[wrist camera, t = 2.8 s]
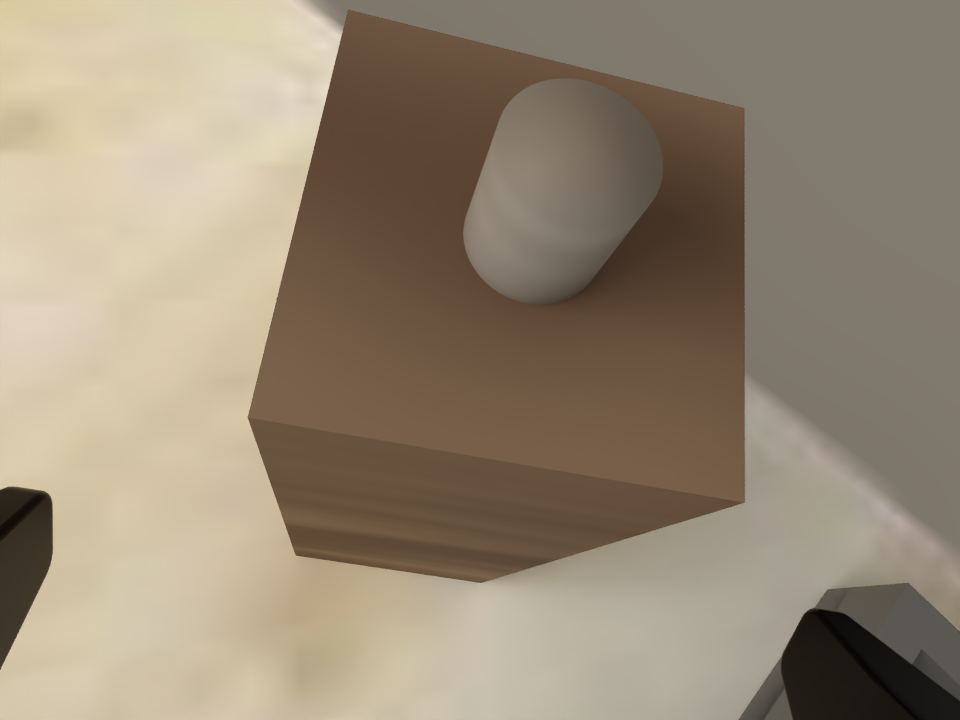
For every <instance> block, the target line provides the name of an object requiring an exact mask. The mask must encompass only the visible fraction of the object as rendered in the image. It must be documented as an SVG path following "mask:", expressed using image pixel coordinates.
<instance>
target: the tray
mask: <svg viewBox="0 0 960 720" xmlns="http://www.w3.org/2000/svg"><path fill="white" fill-rule="evenodd" d="M816 608H820V609H827V610H833V611H839V612H842V613H844V614H846V615H848V616H849V617H850V618H852V619H853V620H854V621H856V622H857V623H858V624H860V625H861V626H862V627H864V628H865V629H866V630H868V631H869V632H870V633H871V634H873V635H874V636H875V637H877V638H878V639H879V640H881V641H882V642H883V643H885V644H886V645H887V646H889V647H890V648H891V649H892V650H894V651H895V652H896V653H898V654H899V655H900V656H902V657H903V658H904V659H906V660H907V661H908V662H909V663H911V664H912V665H913V666H915V667H916V668H917V669H919V670H920V671H921V672H923V673H924V674H925V675H927V676H928V677H929V678H930V679H932V680H933V681H934V682H936V683H937V684H938V685H940V686H941V687H942V688H944V689H945V690H946V691H947V692H949V693H950V694H951V695H953V696H954V697H955V698H957V699H958V700H959V701H960V632H959V631H958V630H957V629H956V628H955V627H954V626H953V625H952V624H951V623H950V622H949V621H948V620H947V619H946V618H945V617H944V616H942V615H941V614H940V613H939V612H938V611H937V610H936V609H935V608H934V607H933V606H932V605H931V604H930V603H929V602H928V601H927V600H926V599H925V598H924V597H922V596H921V595H920V594H919V593H918V592H917V591H916V590H915V589H914V588H913V587H912V586H911V585H910V584H909V583H903V584H890V585H878V586H866V587H854V588H841V589H829V590H827V591H826V593H825V594H824V596H823V597H822V599H821V600H820V602H819V603H818V605H817V606H816ZM781 659H782V657H781ZM781 659H780V660H779V662H778V663H777V665H776V666H775V668H774V669H773V671H772V672H771V674H770V675H769V676H768V678H767V679H766V681H765V682H764V684H763V685H762V687H761V688H760V690H759V691H758V693H757V694H756V696H755V697H754V698H753V700H752V701H751V703H750V704H749V706H748V707H747V709H746V710H745V712H744V713H743V715H742V716H741V718H740V719H739V720H792V716H791V712H790V708H789V704H788V700H787V696H786V692H785V688H784V684H783V680H782V675H781Z"/></svg>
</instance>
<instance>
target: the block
mask: <svg viewBox="0 0 960 720" xmlns="http://www.w3.org/2000/svg"><path fill="white" fill-rule="evenodd" d="M248 420H249V422H250V425H251V428H252V431H253V434H254V437H255V440H256V443H257V445H258V448H259V451H260V454H261V457H262V460H263V463H264V465H265V468H266V471H267V474H268V477H269V480H270V483H271V486H272V488H273V491H274V494H275V497H276V500H277V503H278V506H279V508H280V511H281V514H282V517H283V520H284V523H285V526H286V529H287V531H288V534H289V537H290V540H291V543H292V546H293V549H294V551H295V554H296V555H297V556H304V557H310V558H317V559H324V560H331V561H337V562H344V563H351V564H358V565H364V566H371V567H378V568H385V569H392V570H398V571H405V572H412V573H419V574H425V575H432V576H439V577H446V578H452V579H459V580H466V581H473V582H480V583H482V582H485V581H488V580H491V579H495V578H498V577H501V576H505V575H508V574H511V573H515V572H518V571H521V570H524V569H528V568H531V567H534V566H538V565H541V564H544V563H547V562H551V561H554V560H557V559H561V558H564V557H567V556H570V555H574V554H577V553H580V552H584V551H587V550H590V549H593V548H597V547H600V546H603V545H607V544H610V543H613V542H616V541H620V540H623V539H626V538H630V537H633V536H636V535H639V534H643V533H646V532H649V531H653V530H656V529H659V528H663V527H666V526H669V525H672V524H676V523H679V522H682V521H686V520H689V519H692V518H695V517H699V516H702V515H705V514H709V513H712V512H715V511H718V510H722V509H725V508H728V507H732V506H735V505H738V504H741V503H745V452H744V108H742V107H738V106H734V105H729V104H725V103H721V102H718V101H713V100H709V99H705V98H701V97H697V96H693V95H689V94H685V93H681V92H677V91H673V90H669V89H665V88H661V87H657V86H653V85H649V84H645V83H641V82H637V81H633V80H629V79H625V78H621V77H617V76H613V75H608V74H605V73H600V72H597V71H593V70H589V69H585V68H581V67H576V66H572V65H569V64H564V63H560V62H556V61H552V60H548V59H544V58H540V57H536V56H532V55H528V54H524V53H520V52H516V51H512V50H508V49H504V48H500V47H496V46H491V45H488V44H484V43H480V42H476V41H472V40H468V39H464V38H460V37H455V36H451V35H448V34H444V33H440V32H436V31H432V30H427V29H424V28H419V27H416V26H411V25H408V24H403V23H399V22H395V21H391V20H387V19H383V18H379V17H375V16H371V15H367V14H363V13H359V12H355V11H351V10H348V13H347V17H346V21H345V25H344V29H343V33H342V37H341V41H340V45H339V49H338V53H337V57H336V61H335V66H334V70H333V74H332V78H331V82H330V86H329V90H328V94H327V98H326V102H325V106H324V110H323V114H322V118H321V122H320V126H319V131H318V135H317V139H316V143H315V147H314V151H313V155H312V159H311V163H310V167H309V171H308V175H307V179H306V183H305V187H304V191H303V195H302V200H301V204H300V208H299V212H298V216H297V220H296V224H295V228H294V232H293V236H292V240H291V244H290V248H289V252H288V256H287V260H286V265H285V269H284V273H283V277H282V281H281V285H280V289H279V293H278V297H277V301H276V305H275V309H274V313H273V317H272V321H271V325H270V330H269V334H268V338H267V342H266V346H265V350H264V354H263V358H262V362H261V366H260V370H259V374H258V378H257V382H256V386H255V390H254V394H253V399H252V403H251V407H250V411H249V415H248Z"/></svg>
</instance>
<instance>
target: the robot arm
mask: <svg viewBox="0 0 960 720" xmlns="http://www.w3.org/2000/svg"><path fill="white" fill-rule="evenodd" d="M52 554H53V510H52V500H51V497H50V495H49V494H48V493H46V492H45V491H41V490H34V489H27V488H21V487H6V488H4V489H1V490H0V669H1V667H2V665H3V663H4V661H5V659H6V657H7V655H8V653H9V651H10V649H11V647H12V645H13V643H14V640H15V638H16V636H17V634H18V632H19V630H20V628H21V626H22V624H23V622H24V620H25V618H26V616H27V614H28V612H29V610H30V608H31V606H32V603H33V601H34V599H35V597H36V595H37V593H38V591H39V589H40V587H41V585H42V583H43V581H44V579H45V577H46V575H47V572H48V570H49V567H50V564H51V560H52ZM781 675H782V680H783V684H784V688H785V692H786V696H787V700H788V704H789V708H790V712H791V716H792V720H960V701H959V700H958V699H957V698H955V697H954V696H953V695H951V694H950V693H949V692H947V691H946V690H945V689H944V688H942V687H941V686H940V685H938V684H937V683H936V682H934V681H933V680H932V679H930V678H929V677H928V676H927V675H925V674H924V673H923V672H921V671H920V670H919V669H917V668H916V667H915V666H913V665H912V664H911V663H909V662H908V661H907V660H906V659H904V658H903V657H902V656H900V655H899V654H898V653H896V652H895V651H894V650H892V649H891V648H890V647H889V646H887V645H886V644H885V643H883V642H882V641H881V640H879V639H878V638H877V637H875V636H874V635H873V634H871V633H870V632H869V631H868V630H866V629H865V628H864V627H862V626H861V625H860V624H858V623H857V622H856V621H854V620H853V619H852V618H850V617H849V616H848V615H846V614H844V613H842V612H839V611H833V610H827V609H820V608H813V609H810V610H808V611H807V612H806V613H805V614H804V615H803V617H802V618H801V620H800V622H799V624H798V626H797V628H796V630H795V632H794V633H793V635H792V637H791V639H790V641H789V643H788V645H787V647H786V648H785V650H784V652H783V655H782V659H781Z"/></svg>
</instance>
